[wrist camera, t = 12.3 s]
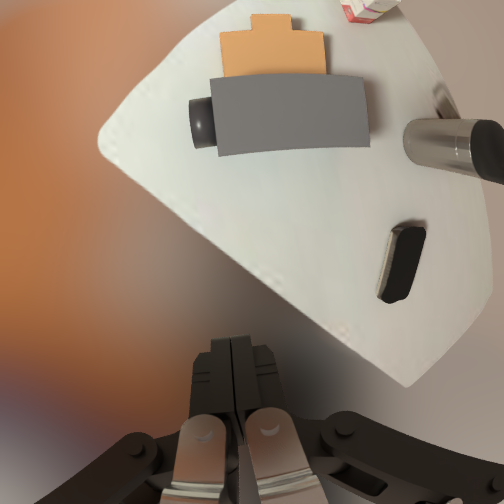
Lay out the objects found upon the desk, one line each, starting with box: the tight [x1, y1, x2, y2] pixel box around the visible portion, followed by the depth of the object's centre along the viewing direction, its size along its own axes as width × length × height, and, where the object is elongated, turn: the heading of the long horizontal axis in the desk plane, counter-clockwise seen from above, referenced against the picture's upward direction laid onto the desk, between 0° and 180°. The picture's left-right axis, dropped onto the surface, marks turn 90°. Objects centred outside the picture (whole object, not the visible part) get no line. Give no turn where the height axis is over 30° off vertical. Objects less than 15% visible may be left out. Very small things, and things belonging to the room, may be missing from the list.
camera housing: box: [189, 73, 370, 157], centre depth 34 cm, size 23×10×10 cm, turn 96°
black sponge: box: [376, 226, 426, 304], centre depth 49 cm, size 16×8×4 cm, turn 175°
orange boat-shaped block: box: [220, 14, 326, 77], centre depth 32 cm, size 16×2×12 cm
